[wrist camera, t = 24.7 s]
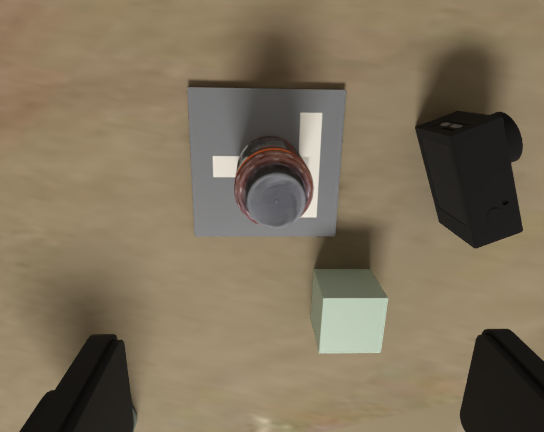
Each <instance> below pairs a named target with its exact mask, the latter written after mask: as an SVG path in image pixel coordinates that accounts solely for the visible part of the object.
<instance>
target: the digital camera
mask: <svg viewBox="0 0 544 432" xmlns="http://www.w3.org/2000/svg"><path fill="white" fill-rule="evenodd" d="M423 127H424V128H423ZM427 128H428V129H427ZM415 130H416V133H417V137H418V141H419V145H420V149H421V153H422V157H423V161H424V165H425V169H426V172H427V176H428V180H429V184H430V188H431V192H432V196H433V200H434V204H435V207H436V211H437V215H438V219H439V222H440V223H441V224H442V225H444V226H445V227H446V228H448V229H449V230H450V231H452V232H453V233H454V234H456V235H457V236H458V237H460V238H461V239H462V240H464V241H465V242H466V243H468V244H469V245H471V246H472V247H473V248H479V247H482V246H484V245H487V244H490V243H493V242H495V241H498V240H501V239H504V238H506V237H509V236H512V235H515V234H518V233H520V232H522V231H523V227H522V222H521V216H520V211H519V205H518V200H517V194H516V188H515V183H514V177H513V172H512V166H511V162H514V161H517V160H518V159H519V158H520V156H521V154H522V149H523V143H522V137H521V134H520V131H519V129H518V127H517V125H516V124H515V122H514V121H513V120H512V118H511V117H509V116H508V115H507V114H505V113H503V112H496V113H494V114H491V115H485V114H477V113H469V112H462V111H456V112H454V113H451V114H448V115H446V116H443V117H441V118H438V119H435V120H433V121H430V122H428V123H425V124H422V125H420V127H419V126H417V127H415Z"/></svg>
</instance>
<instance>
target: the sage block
mask: <svg viewBox="0 0 544 432" xmlns="http://www.w3.org/2000/svg"><path fill="white" fill-rule="evenodd" d="M387 304H388V297H387V295H386V294H385V292H384V291H383V289H382V287H381V286H380V284H379V283H378V281H377V280H376V278H375V276H374V275H373V273H372V272H371V270H370V269H314V271H313V286H312V301H311V316H310V319H311V323H312V327H313V331H314V335H315V339H316V343H317V347H318V351H319V353H381V347H382V340H383V333H384V326H385V318H386V311H387Z"/></svg>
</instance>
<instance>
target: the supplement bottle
mask: <svg viewBox="0 0 544 432" xmlns="http://www.w3.org/2000/svg"><path fill="white" fill-rule="evenodd" d="M313 191H314V186H313V179H312V175H311V173H310V171H309V169H308V167H307V165H306V163H305V162H304V161H303V159H302V157H301V156H300V154H299V153H298V151H297V150H296V149H295V147H294V146H293V145H292V144H290V143H289V142H288V141H287V140H285V139H283V138H281V137H278V136H262V137H258V138H256V139H254V140H252V141H251V142H250V143H249V144H247V146H245V148H244V149H243V151H242V152H241V154H240V157H239V160H238V163H237V170H236V176H235V183H234V195H235V199H236V202H237V206H238V207H239V209H240V210H241V212H242V213H243V214H244V215H245V216H246V217H247V218H248V219H249V220H250V221H252V222H253V223H255V224H258V225H260V226H264V227H267V228H271V229H281V228H284V227H287V226H289V225H292V224H293V223H294V222H296V221H297V220H298V219H299V218H300V217H301V216H302V215H303V214H304V213H305V212H306V210H307V209H308V207H309V206H310V204H311V201H312V198H313Z"/></svg>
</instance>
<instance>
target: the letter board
mask: <svg viewBox="0 0 544 432" xmlns="http://www.w3.org/2000/svg"><path fill="white" fill-rule="evenodd" d="M187 90H188V110H189V130H190V150H191V170H192V190H193V210H194V230H195V236H335V232H336V219H337V205H338V192H339V178H340V164H341V151H342V137H343V124H344V110H345V97H346V90H321V89H263V88H206V87H187ZM262 136H278V137H281V138H283V139H285V140H287V141H288V142H289V143H290V144H292V145H293V146H294V147H295V149H296V150H297V151H298V153H299V154H300V156H301V157H302V159H303V161H304V162H305V163H306V165H307V167H308V169H309V171H310V173H311V175H312V179H313V186H314V191H313V198H312V201H311V204H310V206H309V207H308V209H307V210H306V212H305V213H304V214H303V215H302V216H301V217H300V218H299V219H298V220H297V221H296V222H294V223H293V224H292V225H289V226H287V227H284V228H281V229H271V228H267V227H264V226H260V225H258V224H255V223H253V222H252V221H250V220H249V219H248V218H247V217H246V216H245V215H244V214H243V213H242V212H241V210H240V209H239V207H238V206H237V202H236V199H235V195H234V183H235V176H236V170H237V163H238V160H239V157H240V154H241V152H242V151H243V149H244V148H245V146H247V144H249V143H250V142H251V141H252V140H254V139H256V138H258V137H262Z"/></svg>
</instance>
